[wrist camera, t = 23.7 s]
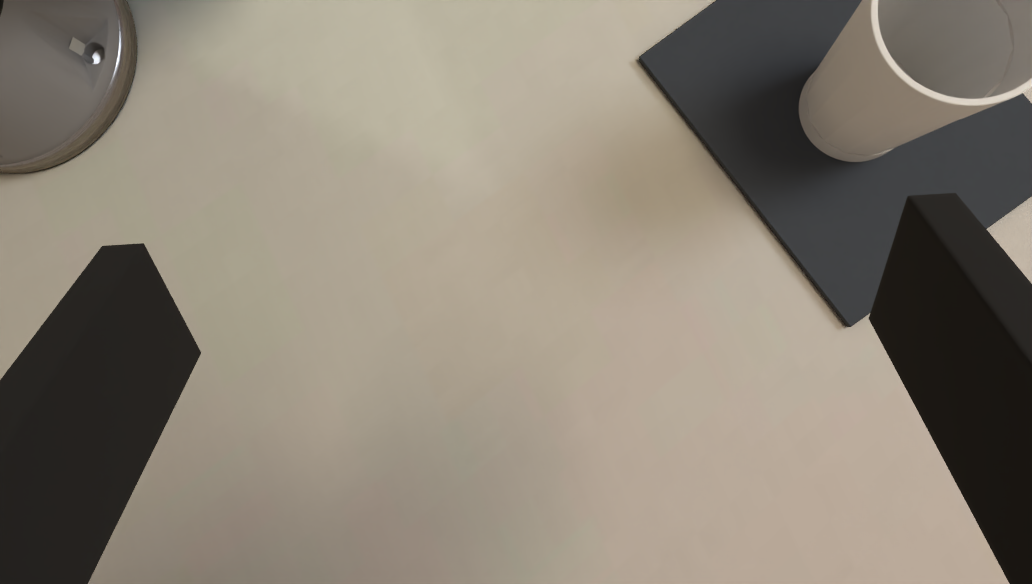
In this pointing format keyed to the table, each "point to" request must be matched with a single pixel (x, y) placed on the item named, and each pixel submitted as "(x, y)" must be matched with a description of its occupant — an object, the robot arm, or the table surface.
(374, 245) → the table surface
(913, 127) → the cup
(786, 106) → the mat
